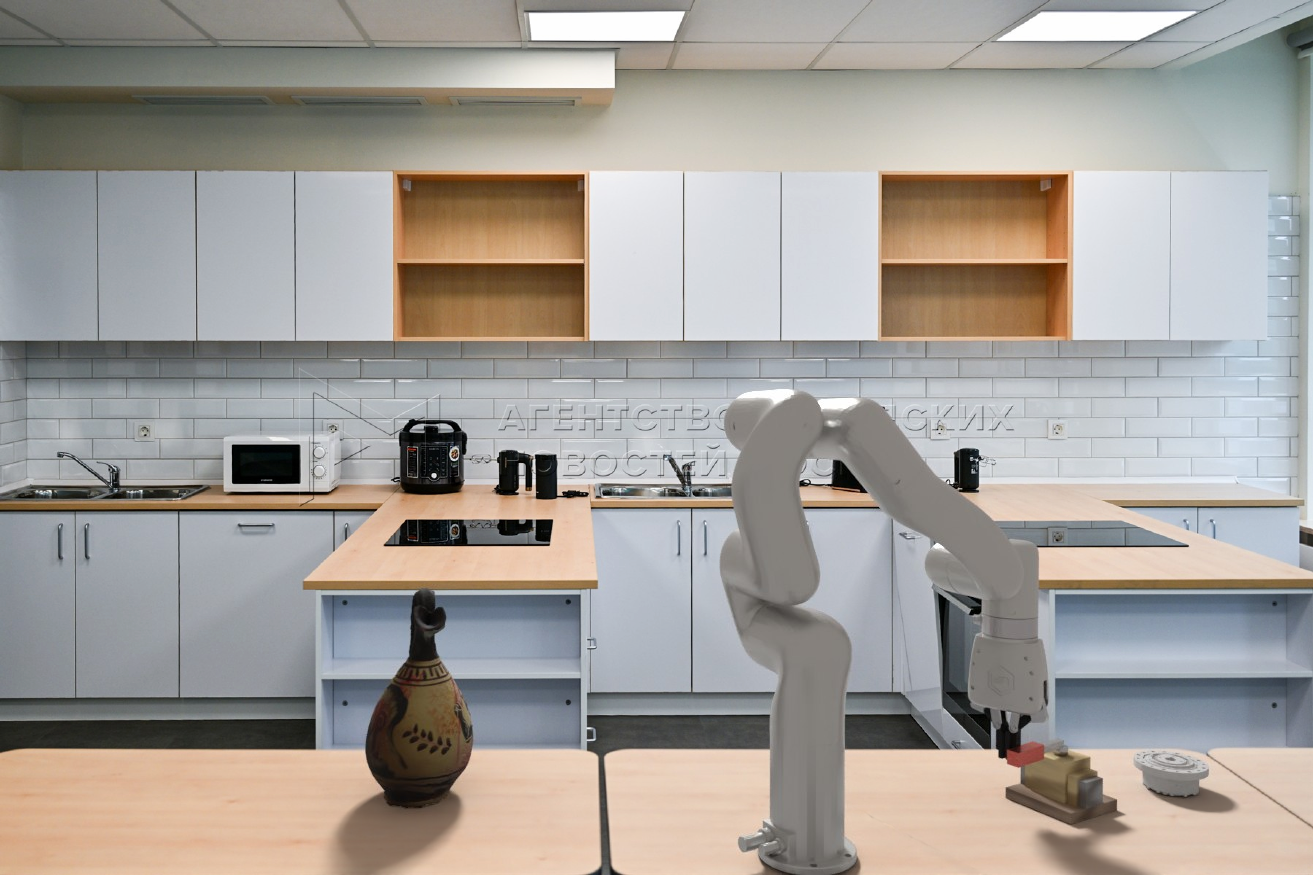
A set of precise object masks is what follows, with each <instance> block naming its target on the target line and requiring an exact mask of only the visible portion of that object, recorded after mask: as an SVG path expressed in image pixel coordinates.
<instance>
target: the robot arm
mask: <svg viewBox="0 0 1313 875" xmlns="http://www.w3.org/2000/svg"><path fill="white" fill-rule="evenodd" d="M723 429H724V432H725V435H726V437H727V439H728V441H729V443H730V444H731V445H732V446H733V447H735V449H737V450H738V451H739V455H738V458H737V460H736V462H735V466H734V470H733V473H732V478H731V491H730V492H731V500H732V505H733V509H734V514H735V515H734V516H735V518H736V519H735V520H736V523H737V528H736V529H734V530H733V531H732V532H731V533H730V534H729V535H728V537H727V538H726V540H725V541H724V543H723V545H722V548H721V550H720V554H719V573H720V580H721V582H722V586H723V590H724V593H725V596H726V600H727V603H728V606H729V610H730V613H731V617H732V619H733V623H734V626H735V630H736V633H737V635H738V638H739V641H740V643H741V646H742V648H743V649H744V652H745V653H746V654H747V656H748V657H749V658H750V659H751V660H752V661H753V662H755V663H756V664H757V665H759V666H760V667H763V668H765V669H767V670H769V671H771V672H773V673H775V674H776V675H778V680H777V686H776V688H775V692H774V695H773V697H772V701H771V705H770V711H769V712H770V714H769V818H766V819H765V818H764V819H762V828H760V829H758V831H757V832H756V833H748V834H745V835H741V836H738V839H737V845H738V848H739V850H740V851H741V852H742V853H748V852H751V851H755V850H757V854H758V857H759V858H760V860H762V861H763V862H764V864H766V865H768V866H769V867H771V868H773V869H776V870H779V871H780V872H784V873H787V874H792V875H836V874H839V873H843V872H845V871H847V870H849V869H850V868H851V867H853V866H854V865H855V864H856V862H857V858H858V857H857V856H858V855H857V854H858V853H857V852H858V850H857V847H856V844H854V842H853V841H852V840H850V839H849V838H848V837H847V836H845V814H846V813H845V802H846V800H845V799H846V797H845V796H846V794H845V793H846V792H845V791H846V790H845V789H846V788H845V786H846V785H845V784H846V783H845V779H846V776H845V774H846V773H845V767H846V764H845V763H846V756H845V754H846V752H845V750H846V748H845V745H846V744H845V743H846V742H845V741H846V739H845V737H846V734H845V732H846V731H845V729H846V726H845V725H846V722H845V721H846V715H845V714H846V699H847V692H848V685H849V679H850V675H851V671H852V664H853V646H852V642H851V638H850V636H849V633H848V632H847V631H846V629H845V627H844V626H843V625H842V624H841V623H840V622H839V621H838V620H837V619H835V618H834V617H832V616H831V615H829V614H827V613H825V612H822V611H820V610H817V609H814V608H811V607H809V606H805V605H802V604H804V603H806V602H808V601H809V600H810V599H812V598H813V597H814V596H815V594H816V593H817V592H818V588H819V586H820V581H821V570H820V568H821V567H820V563H819V559H818V555H817V553H816V549H815V546H814V542H813V539H812V538H813V537H812V535H811V532H810V528H809V524H808V521H807V517H806V514H805V511H804V507H803V502H802V498H801V492H800V481H801V474H802V471H803V467H804V465H805V463H806V462H807V459H810V460H811V459H814V460H816V459H817V460H829V461H831V460H832V461H833V460H834V461H840V462H842V463H843V464H844V465H845V466H846V468H847V469H848V470H849V471H850V473H851V474H852V475H853V476H854V477H855V479H856V480H857V481H858V482H859V484H860V485H861V486H862V487H863V489H865V491H866V492H867V494H868V495H869V496H870V498H871V499H872V500H873V501H874V502H875V504H876V505H877V506H878V507H879V509H880V510H881V511H882V512H883V513H884V514H885V515H886V516H887V517H889V518H890V519H892V520H894V521H895V522H896V523H898V524H900V525H902V526H903V527H905V528H907V529H910V530H911V531H914V532H917V533H918V534H920V535H922V536H924V537H927V538H928V539H930V540H932V541H933V542H935V544H933V545H932V547H931V548H930V549H929V550H928V551H927V553H926V555H925V557H924V571H925V573H926V575H927V577H928V579H929V581H931V583H933V584H934V585H935V586H936V587H938V588H940V589H942V590H944V591H947V592H949V593H954V594H958V595H962V596H969V597H973V598H975V599H979V600H981V612H980V613H979V614H975V613H974V614H973V615H972V624H975V625H978V626H979V630H980V632H977V633H975V636H974V640H973V644H972V649H971V655H970V661H969V662H970V663H969V670H968V680H967V682H968V683H967V697H968V700H969V701H970V705H969V706H970V707H971V709H974V710H975V711H977V712H980V713H982V714H984V715H985V716H986V717H987V718H988V720H989V721H990V723H991V724H992V727H993V728H994V729H995V749H996V750H997V751H998V752H997V755H998V756H997V757H998V759H1002V760H1003V759H1005V760H1006V761H1007V749H1011V748H1014V747H1017V746H1020V745H1022V729H1023V728H1025V727H1026V726H1028V725H1029V724H1039V723H1040V724H1042V723H1045V722H1047V721H1048V720H1049V712H1048V709H1047V707H1048V705H1049V699H1050V696H1049V694H1050V686H1049V672H1048V670H1049V669H1048V662H1047V657H1046V656H1047V655H1046V650H1045V647H1044V646H1045V645H1044V643H1043V642H1044V641H1043V639H1041V638H1039V598H1040V596H1039V592H1040V590H1039V589H1040V587H1039V585H1040V584H1039V582H1040V581H1039V580H1040V577H1039V576H1040V552H1039V549H1038V546H1037V545H1036V544H1035V543H1034V542H1032V541H1029V540H1024V539H1016V538H1008V536H1007V535H1006V534H1005V533H1004V531H1003V530H1002V529H1001V527H1000V526H999V525H998V523H996V522H995V520H994V519H993V518H992V517H991V516H990V515H989V514H987V513H986V512H985V511H984V510H983V509H981V508H980V507H979V506H978V505H977V504H975V503H974V502H973V501H972V500H970V499H969V498H967V497H966V496H964V495H963V494H962V493H961V492H959V491H958V490H957V489H956V488H954V487H953V486H952V485H950V484H949V483H947V482H946V481H944V480H943V479H941V478H940V477H939V476H938V475H937V474H936V473H934V471H933V470H932V469H931V468H930V466H929V465H928V464H927V462H926V460H924V459H923V457H922V456H921V455H920V453H919V452H918V451H917V449H916V448H915V446H914V445H913V444H912V443H911V441H910V440H909V439H908V437H907V436H906V435H905V433H904V432H903V431H902V429H901V428H900V427H899V426H898V425H897V423H896V422H895V420H894V418H892V417H891V415H890V414H889V413H888V411H887V410H886V409H885V408H884V407H883V406H882V405H881V404H879V403H878V402H877V401H875V400H873V399H870V398H867V397H858V396H857V397H837V398H835V397H834V398H833V397H832V398H815V396H813V395H812V394H811V393H808V392H807V391H804V390H800V389H792V388H785V389H783V388H782V389H772V390H756V391H750V392H745V393H743V394H741V395H739V396H737V397H736V398H734V400H732V402H730V404H729V405H728V407H727V409H726V411H725V414H724V418H723ZM1008 712H1009V713H1010V718H1009V716H1008Z"/></svg>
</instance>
